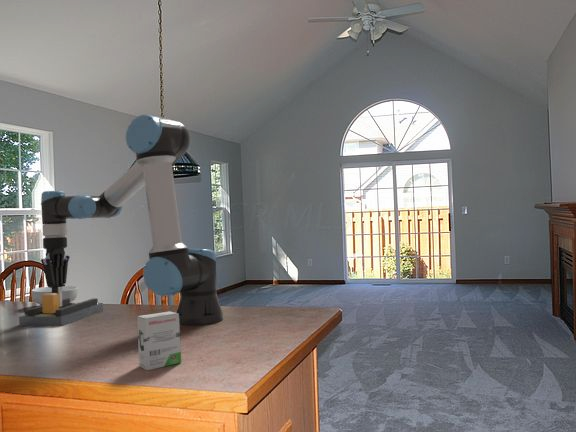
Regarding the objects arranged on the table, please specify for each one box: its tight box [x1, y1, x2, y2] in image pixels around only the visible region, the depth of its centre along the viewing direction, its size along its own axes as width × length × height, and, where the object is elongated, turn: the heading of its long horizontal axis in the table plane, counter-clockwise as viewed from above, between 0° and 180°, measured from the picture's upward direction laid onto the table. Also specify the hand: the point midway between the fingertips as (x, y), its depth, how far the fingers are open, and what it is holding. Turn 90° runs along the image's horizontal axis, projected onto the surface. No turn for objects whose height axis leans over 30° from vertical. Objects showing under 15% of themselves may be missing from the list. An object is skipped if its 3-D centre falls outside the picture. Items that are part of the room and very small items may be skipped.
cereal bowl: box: [30, 285, 79, 306], centre depth 215 cm, size 17×17×7 cm
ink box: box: [136, 311, 182, 371], centre depth 127 cm, size 9×5×12 cm, turn 127°
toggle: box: [42, 293, 59, 313], centre depth 182 cm, size 4×3×6 cm
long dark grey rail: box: [56, 298, 99, 316], centre depth 188 cm, size 2×23×2 cm, turn 170°
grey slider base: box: [18, 301, 104, 327], centre depth 189 cm, size 15×26×4 cm, turn 170°
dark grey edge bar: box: [24, 299, 71, 316], centre depth 190 cm, size 2×23×2 cm, turn 170°
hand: (57, 306), depth 186 cm, fingers closed
